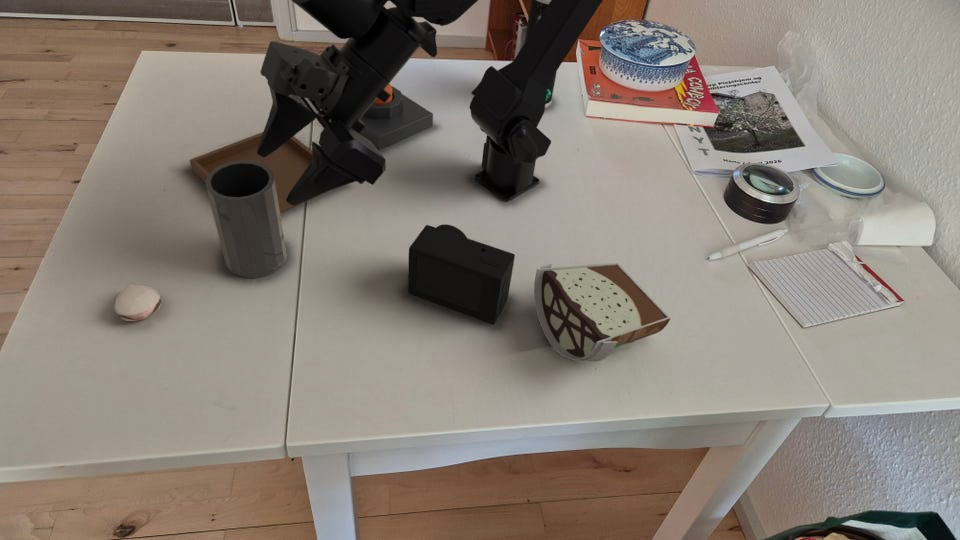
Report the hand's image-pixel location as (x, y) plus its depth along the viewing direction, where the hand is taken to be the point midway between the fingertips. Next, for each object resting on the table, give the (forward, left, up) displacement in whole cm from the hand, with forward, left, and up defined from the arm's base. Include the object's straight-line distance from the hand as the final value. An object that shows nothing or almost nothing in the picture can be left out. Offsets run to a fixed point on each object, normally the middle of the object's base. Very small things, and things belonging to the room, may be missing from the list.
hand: (274, 178), depth 70 cm
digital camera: (-18, -11, -10) cm, 23 cm away
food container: (-34, -22, -8) cm, 41 cm away
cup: (+1, +3, -10) cm, 11 cm away
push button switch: (+15, -26, -10) cm, 31 cm away
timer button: (+15, -26, -6) cm, 30 cm away
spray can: (+5, -49, -10) cm, 50 cm away
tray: (+13, -6, -10) cm, 17 cm away
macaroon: (+2, +16, -10) cm, 19 cm away
